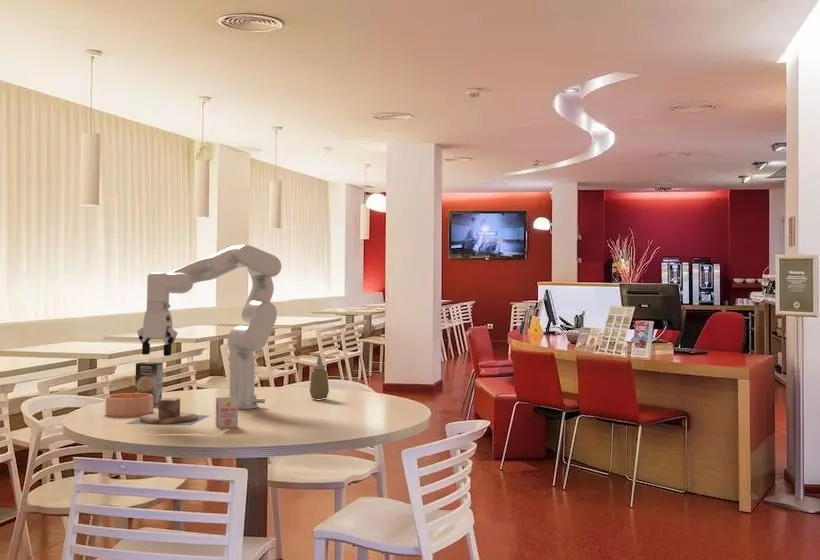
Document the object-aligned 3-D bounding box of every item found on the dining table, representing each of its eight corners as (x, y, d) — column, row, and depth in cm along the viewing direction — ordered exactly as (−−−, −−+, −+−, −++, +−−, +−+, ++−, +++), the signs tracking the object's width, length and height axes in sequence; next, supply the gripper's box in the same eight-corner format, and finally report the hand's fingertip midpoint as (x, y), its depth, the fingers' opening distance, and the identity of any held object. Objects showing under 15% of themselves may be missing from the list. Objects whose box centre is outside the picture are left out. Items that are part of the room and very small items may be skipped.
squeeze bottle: (307, 398, 324) (307, 356, 324) (325, 398, 327) (326, 355, 327) (312, 401, 317) (312, 357, 317) (331, 400, 320) (331, 357, 320)
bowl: (159, 410, 288) (159, 393, 288) (142, 417, 272) (142, 399, 272) (117, 410, 288) (117, 392, 289) (97, 417, 273) (98, 398, 273)
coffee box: (133, 403, 306) (134, 363, 306) (141, 401, 312) (141, 361, 312) (156, 404, 305) (156, 363, 305) (162, 402, 311) (163, 362, 311)
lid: (205, 415, 274) (205, 396, 274) (186, 424, 255) (187, 403, 255) (152, 414, 275) (153, 395, 275) (130, 423, 256) (131, 402, 256)
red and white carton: (215, 427, 255) (215, 396, 255) (236, 426, 257) (236, 396, 257) (216, 429, 251) (216, 398, 251) (237, 428, 253) (238, 397, 253)
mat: (209, 417, 274) (209, 415, 275) (190, 426, 255) (190, 425, 255) (149, 416, 276) (149, 414, 276) (125, 425, 256) (125, 423, 256)
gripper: (184, 307, 276) (182, 355, 275) (146, 306, 282) (145, 353, 282) (169, 307, 269) (168, 356, 268) (131, 306, 276) (130, 354, 275)
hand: (156, 355), depth 275 cm, fingers open, 9 cm apart
